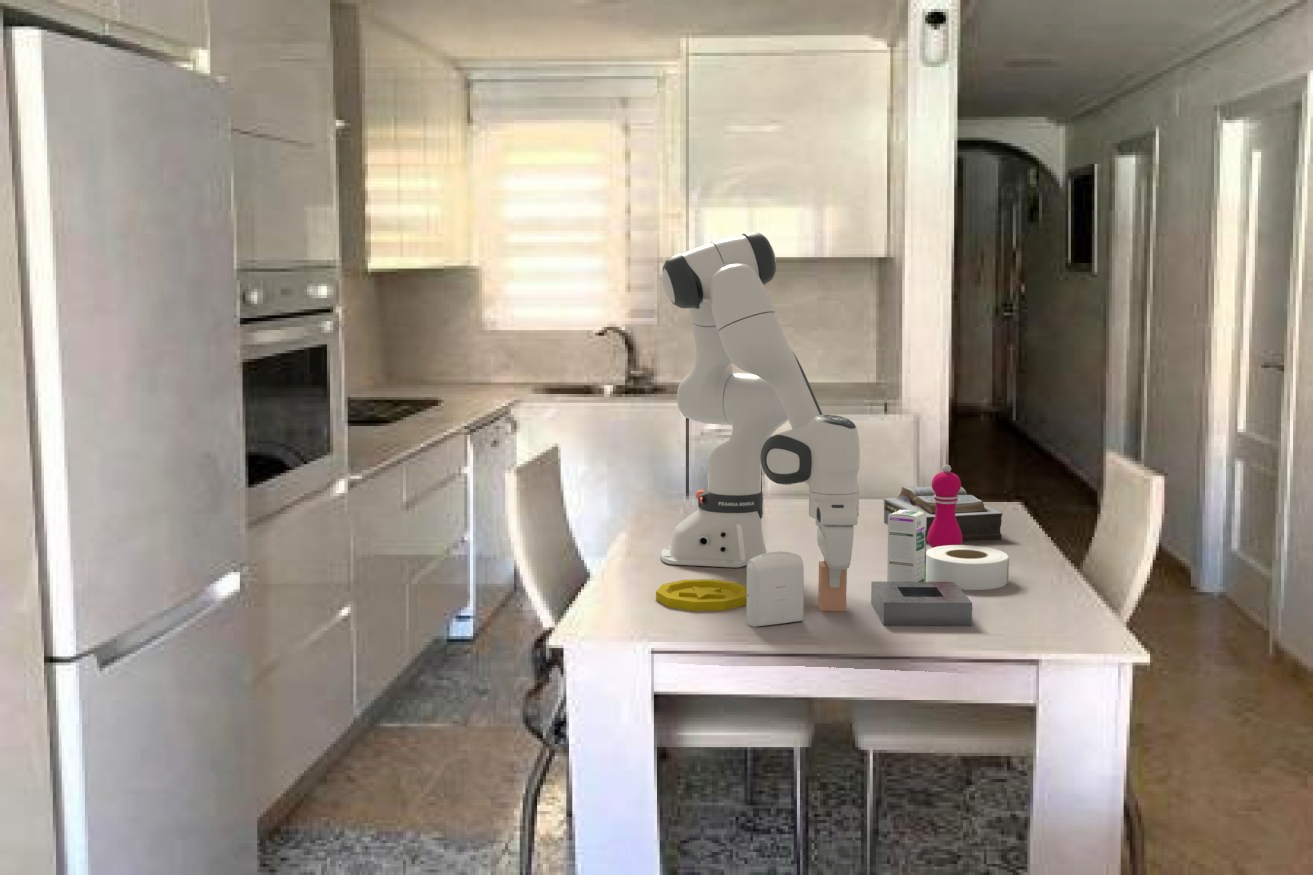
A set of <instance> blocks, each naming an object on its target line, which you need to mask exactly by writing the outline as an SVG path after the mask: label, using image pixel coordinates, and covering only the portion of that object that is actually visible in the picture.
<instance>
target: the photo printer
mask: <svg viewBox="0 0 1313 875" xmlns="http://www.w3.org/2000/svg"><path fill="white" fill-rule="evenodd" d="M804 568H805V567H804V561H803V559H802V557H801V555H800V554H799V555H798V554H797V553H795V552H789V551H781V550H780V551H779V550H778V551H769V552H767V553H764V554H761V555H758V556H756V557H754V558H752V559H750V560H749V561H748V563H747V565H746V587H747V604H746V620H747V621H746V622H747V624H748V626H751V627H753V628H755V627H757V628H758V627H763V626H770V625H771V626H772V625H781V624H787V623H794V622H795V623H796V622H802V621H803V620H804V601H805V600H804V597H805V596H804V592H805V591H804V590H805V589H804V588H805V587H804V586H805V584H804V579H805V578H804V577H805V576H804V573H805V572H804Z"/></svg>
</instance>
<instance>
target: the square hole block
mask: <svg viewBox="0 0 1313 875" xmlns="http://www.w3.org/2000/svg"><path fill="white" fill-rule="evenodd" d="M870 583H871V592H870V603H871V605H872V607H873V609H874V611H875V613H876V614H877V616H878V618H879V620H880V622H881V623H882V626H940V627H941V626H949V627H950V626H951V627H952V626H953V627H954V626H956V627H957V626H958V627H959V626H960V627H962V626H963V627H964V626H965V627H966V626H968V627H971V626H972V624H973V622H972V621H973V620H972V619H973V618H972V617H973V602H972V601H971V600H970V599H969V598H968V596H967V595H966V594H965V592H964V591H962V590H963V589H960V588H959V587H958V586H957V585H956V583H955V582H928V581H926V582H887V581H877V580H876V581H871V582H870Z"/></svg>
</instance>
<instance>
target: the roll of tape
mask: <svg viewBox="0 0 1313 875" xmlns="http://www.w3.org/2000/svg"><path fill="white" fill-rule="evenodd" d="M1009 573H1010V557H1009V555H1008V554H1007V553H1006V552H1004V551H1003V550H1000V549H996V548H993V547H987V546H981V545H980V546H977V545H972V544H971V545H969V544H968V545H967V544H961V545H947V546H938V547H934V548H932V547H931V548H928V549H926V582H955V583H956V585H957V586H958V587H959V588H960V589H961V590H966V591H968V590H969V591H970V590H971V591H982V590H984V591H985V590H994V589H999V588H1002V587H1005V586H1006V585H1007V584H1009V577H1010V575H1009Z"/></svg>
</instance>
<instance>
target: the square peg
mask: <svg viewBox="0 0 1313 875" xmlns="http://www.w3.org/2000/svg"><path fill="white" fill-rule="evenodd" d="M847 574H848V569H842V571H841V576H840V586H839V587H838V588H832V587H830V585H829V567H828V565H827V563H826V561H824V560H823V561H820V560H819V561H818V585H817V586H818V590H817V591H818V594H817V596H818V597H817V600H818V601H817V605H818V607H819V610H820V612H847V586H848V585H847V584H848V583H847V582H848V581H847V578H848V576H847Z"/></svg>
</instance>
